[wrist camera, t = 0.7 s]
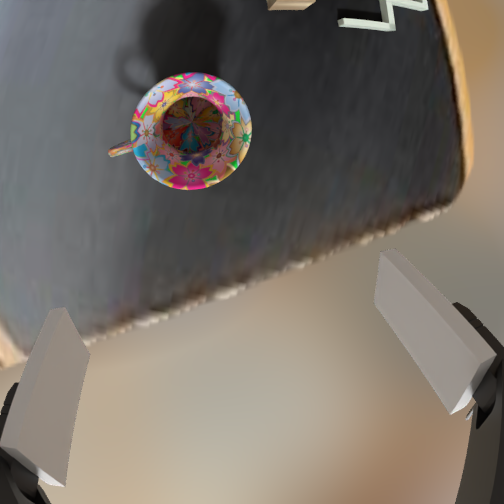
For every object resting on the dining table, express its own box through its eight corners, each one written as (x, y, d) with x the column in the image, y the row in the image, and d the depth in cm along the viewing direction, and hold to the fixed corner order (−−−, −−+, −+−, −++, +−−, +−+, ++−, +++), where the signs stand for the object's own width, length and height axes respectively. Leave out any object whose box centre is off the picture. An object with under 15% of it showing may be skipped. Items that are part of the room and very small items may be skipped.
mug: (226, 71, 30) (239, 60, 21) (243, 152, 34) (261, 174, 25) (116, 101, 29) (85, 104, 20) (138, 179, 34) (118, 212, 25)
